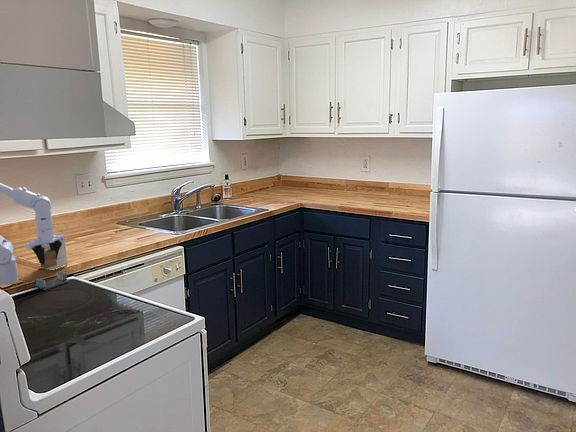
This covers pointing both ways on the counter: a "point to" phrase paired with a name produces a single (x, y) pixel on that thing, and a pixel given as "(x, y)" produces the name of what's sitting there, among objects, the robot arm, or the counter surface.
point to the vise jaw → (40, 283)
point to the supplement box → (61, 255)
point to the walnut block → (49, 259)
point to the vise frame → (56, 281)
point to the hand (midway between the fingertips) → (48, 261)
